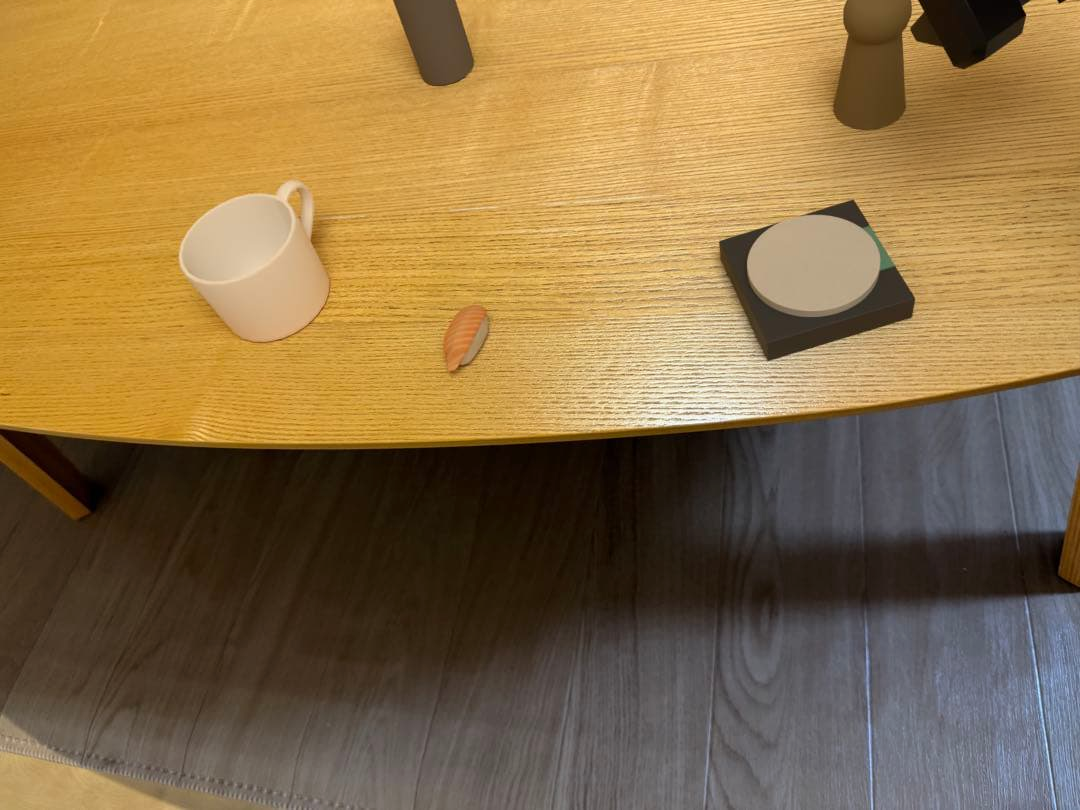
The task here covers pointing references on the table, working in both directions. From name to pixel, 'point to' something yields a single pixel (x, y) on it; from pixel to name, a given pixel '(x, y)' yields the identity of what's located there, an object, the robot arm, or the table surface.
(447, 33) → the bottle
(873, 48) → the brown chess pawn
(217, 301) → the mug
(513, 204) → the table surface
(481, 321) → the sushi
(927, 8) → the robot arm
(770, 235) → the scale
